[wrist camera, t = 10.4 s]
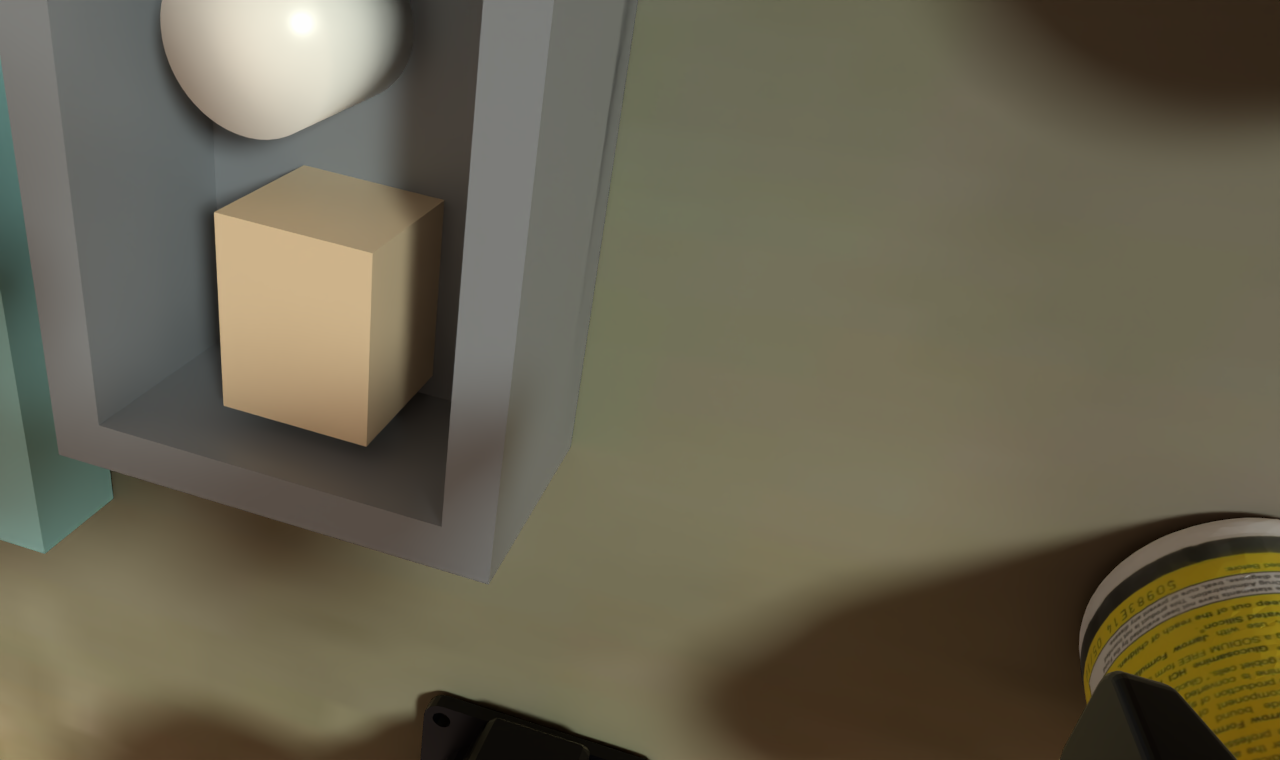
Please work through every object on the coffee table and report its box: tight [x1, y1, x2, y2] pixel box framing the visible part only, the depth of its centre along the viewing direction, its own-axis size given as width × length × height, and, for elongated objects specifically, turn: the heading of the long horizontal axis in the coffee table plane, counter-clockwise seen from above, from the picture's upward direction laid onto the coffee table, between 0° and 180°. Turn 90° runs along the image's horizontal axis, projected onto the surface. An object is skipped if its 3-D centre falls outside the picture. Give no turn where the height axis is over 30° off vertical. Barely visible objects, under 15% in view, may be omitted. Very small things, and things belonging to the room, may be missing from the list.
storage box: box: [0, 0, 638, 584], centre depth 19 cm, size 12×9×5 cm
